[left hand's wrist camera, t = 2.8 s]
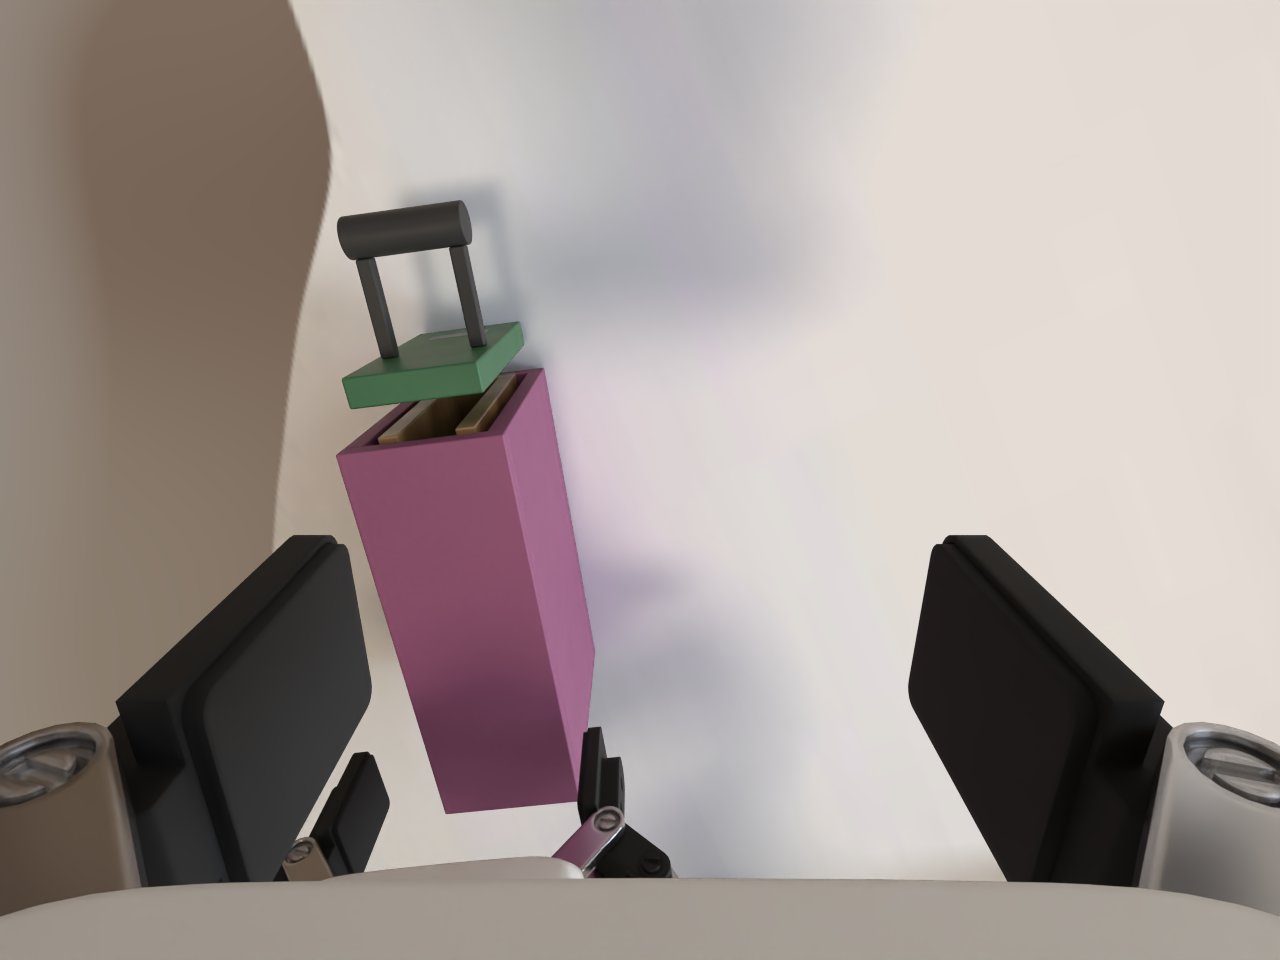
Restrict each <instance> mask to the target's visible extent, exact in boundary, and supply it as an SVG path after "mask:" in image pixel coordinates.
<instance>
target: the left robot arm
mask: <svg viewBox="0 0 1280 960" xmlns="http://www.w3.org/2000/svg"><path fill="white" fill-rule="evenodd" d="M371 692H372V684H371V677H370V671H369V665H368V660H367V654H366V648H365V642H364V637H363V631H362V625H361V620H360V614H359V608H358V603H357V597H356V591H355V585H354V580H353V574H352V568H351V563H350V557H349V552H348V549H347V547H346V546H345V545H344V544H337V541H336V540H335V538H334V537H333V536H331V535H293V536H292V537H290V538H289V539H288V540H287V541H286V542H285V543H283V544H282V545H281V546H280V547H279V548H278V549H277V550H276V551H275V552H274V553H273V554H272V555H271V556H270V557H269V558H268V559H266V560H265V561H264V562H263V563H262V564H261V565H260V566H259V567H258V568H257V569H256V570H255V571H254V572H253V573H252V574H251V575H249V576H248V577H247V578H246V579H245V580H244V581H243V582H242V583H241V584H240V585H239V586H238V587H237V588H236V589H235V590H233V591H232V592H231V593H230V594H229V595H228V596H227V597H226V598H225V599H224V600H223V601H222V602H221V603H220V604H219V605H218V606H217V607H215V608H214V609H213V610H212V611H211V612H210V613H209V614H208V615H207V616H206V617H205V618H204V619H203V620H202V621H201V622H200V623H198V624H197V625H196V626H195V627H194V628H193V629H192V630H191V631H190V632H189V633H188V634H187V635H186V636H185V637H184V638H182V639H181V640H180V641H179V642H178V643H177V644H176V645H175V646H174V647H173V648H172V649H171V650H170V651H169V652H168V653H167V654H165V655H164V656H163V657H162V658H161V659H160V660H159V661H158V662H157V663H156V664H155V665H154V666H153V667H152V668H151V669H150V670H148V671H147V672H146V673H145V674H144V675H143V676H142V677H141V678H140V679H139V680H138V681H137V682H136V683H135V684H134V685H132V686H131V687H130V688H129V689H128V690H127V691H126V692H125V693H124V694H123V695H122V696H121V697H120V698H119V699H118V700H117V701H116V705H117V707H118V710H119V713H120V716H119V717H118V718H117V719H116V720H115V721H114V722H113V723H111V724H110V725H109V726H108V727H107V728H106V727H103V726H101V725H99V724H96V723H85V722H74V723H68V724H60V725H54V726H51V727H47V728H44V729H40V730H37V731H34V732H30V733H28V734H26V735H23V736H21V737H19V738H16V739H14V740H11V741H9V742H7V743H5V744H3V745H1V746H0V960H1280V746H1279V745H1277V744H1275V743H1273V742H1271V741H1269V740H1266V739H1264V738H1261V737H1259V736H1257V735H1254V734H1252V733H1250V732H1247V731H1243V730H1240V729H1236V728H1233V727H1229V726H1226V725H1220V724H1213V723H1206V722H1195V723H1184V724H1181V725H1179V726H1177V727H1174V728H1173V727H1172V726H1171V725H1170V724H1169V723H1167V722H1166V721H1165V720H1164V719H1163V718H1162V717H1161V716H1160V713H1161V710H1162V707H1163V705H1164V702H1165V701H1163V700H1162V699H1161V698H1160V697H1159V696H1158V695H1157V694H1156V693H1155V692H1154V691H1153V690H1152V689H1151V688H1150V687H1149V686H1148V685H1146V684H1145V683H1144V682H1143V681H1142V680H1141V679H1140V678H1139V677H1138V676H1137V675H1136V674H1135V673H1134V672H1133V671H1132V670H1131V669H1129V668H1128V667H1127V666H1126V665H1125V664H1124V663H1123V662H1122V661H1121V660H1120V659H1119V658H1118V657H1117V656H1116V655H1115V654H1114V653H1112V652H1111V651H1110V650H1109V649H1108V648H1107V647H1106V646H1105V645H1104V644H1103V643H1102V642H1101V641H1100V640H1099V639H1098V638H1096V637H1095V636H1094V635H1093V634H1092V633H1091V632H1090V631H1089V630H1088V629H1087V628H1086V627H1085V626H1084V625H1083V624H1082V623H1081V622H1079V621H1078V620H1077V619H1076V618H1075V617H1074V616H1073V615H1072V614H1071V613H1070V612H1069V611H1068V610H1067V609H1066V608H1065V607H1064V606H1062V605H1061V604H1060V603H1059V602H1058V601H1057V600H1056V599H1055V598H1054V597H1053V596H1052V595H1051V594H1050V593H1049V592H1048V591H1047V590H1045V589H1044V588H1043V587H1042V586H1041V585H1040V584H1039V583H1038V582H1037V581H1036V580H1035V579H1034V578H1033V577H1032V576H1031V575H1030V574H1028V573H1027V572H1026V571H1025V570H1024V569H1023V568H1022V567H1021V566H1020V565H1019V564H1018V563H1017V562H1016V561H1015V560H1014V559H1012V558H1011V557H1010V556H1009V555H1008V554H1007V553H1006V552H1005V551H1004V550H1003V549H1002V548H1001V547H1000V546H999V545H998V544H997V543H995V542H994V541H993V540H992V539H991V538H990V537H988V536H987V535H949V536H947V537H946V538H945V540H944V541H943V544H936V545H935V546H934V547H933V549H932V552H931V557H930V563H929V568H928V574H927V580H926V585H925V591H924V597H923V603H922V608H921V614H920V620H919V625H918V631H917V637H916V642H915V648H914V654H913V660H912V665H911V671H910V677H909V684H908V692H909V699H910V702H911V705H912V707H913V709H914V711H915V713H916V715H917V717H918V718H919V720H920V722H921V724H922V726H923V728H924V729H925V731H926V733H927V735H928V737H929V739H930V740H931V742H932V744H933V746H934V748H935V750H936V751H937V753H938V755H939V757H940V759H941V761H942V762H943V764H944V766H945V768H946V770H947V772H948V773H949V775H950V777H951V779H952V781H953V783H954V784H955V786H956V788H957V790H958V792H959V794H960V795H961V797H962V799H963V801H964V803H965V805H966V806H967V808H968V810H969V812H970V814H971V816H972V817H973V819H974V821H975V823H976V825H977V827H978V828H979V830H980V832H981V834H982V836H983V838H984V839H985V841H986V843H987V845H988V847H989V849H990V850H991V852H992V854H993V856H994V858H995V860H996V861H997V863H998V865H999V867H1000V869H1001V871H1002V872H1003V874H1004V876H1005V878H1006V880H1007V882H987V881H938V880H888V879H711V878H569V879H392V880H342V881H293V882H273V880H274V878H275V876H276V874H277V872H278V871H279V869H280V867H281V865H282V863H283V861H284V860H285V858H286V856H287V854H288V852H289V850H290V849H291V847H292V845H293V843H294V841H295V839H296V838H297V836H298V834H299V832H300V830H301V828H302V827H303V825H304V823H305V821H306V819H307V817H308V816H309V814H310V812H311V810H312V808H313V806H314V805H315V803H316V801H317V799H318V797H319V795H320V794H321V792H322V790H323V788H324V786H325V784H326V783H327V781H328V779H329V777H330V775H331V773H332V772H333V770H334V768H335V766H336V764H337V762H338V761H339V759H340V757H341V755H342V753H343V751H344V750H345V748H346V746H347V744H348V742H349V740H350V739H351V737H352V735H353V733H354V731H355V729H356V728H357V726H358V724H359V722H360V720H361V718H362V717H363V715H364V713H365V711H366V709H367V707H368V705H369V702H370V699H371Z"/></svg>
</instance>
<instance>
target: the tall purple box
mask: <svg viewBox="0 0 1280 960" xmlns="http://www.w3.org/2000/svg"><path fill="white" fill-rule="evenodd" d="M511 373H515V374H516V377H517V382H518V388H517V390H516V391H515V393H514V394H513V396H512V397H511V398H510V400H509V401H508V403H507V404H506V406H505V407H504V409H503V410H502V411H501V413H500V414H499V416H498V417H497V419H496V420H495V422H494V423H493V425H492V426H491V427H490V429H489V430H488V431H486V432H478V433H470V434H462V435H454V436H446V437H438V438H430V439H422V440H413V441H405V442H397V443H389V444H381V445H379V441H378V438H379V437H380V436H381V435H382V434H383V433H385V432H386V431H387V430H388V429H389V428H390V427H392V426H393V425H394V424H395V423H396V422H397V421H398V420H400V419H401V418H402V417H403V416H404V415H405V414H406V413H408V412H409V411H410V410H411V409H412V408H413V407H415V406H416V405H417V404H418V403H419V402H420V401H414V402H406V403H401V404H399V405H398V406H397V407H396V408H394V409H393V410H392V411H391V412H389V413H388V414H387V415H386V416H384V417H383V418H382V419H381V420H379V421H378V422H377V423H376V424H375V425H373V426H372V427H371V428H370V429H368V430H367V431H366V432H365V433H363V434H362V435H361V436H360V437H358V438H357V439H356V440H355V441H353V442H352V443H351V444H350V445H348V446H347V447H346V448H345V449H343V450H342V451H341V452H340V453H338V454H337V455H336V457H337V461H338V464H339V467H340V471H341V474H342V477H343V480H344V484H345V487H346V490H347V493H348V497H349V500H350V503H351V506H352V510H353V513H354V516H355V520H356V523H357V526H358V529H359V533H360V536H361V539H362V542H363V546H364V549H365V552H366V555H367V559H368V562H369V565H370V568H371V572H372V575H373V578H374V582H375V585H376V588H377V591H378V595H379V598H380V601H381V604H382V608H383V611H384V614H385V617H386V621H387V624H388V627H389V631H390V634H391V637H392V640H393V644H394V647H395V650H396V653H397V657H398V660H399V663H400V666H401V670H402V673H403V676H404V679H405V683H406V686H407V689H408V693H409V696H410V699H411V702H412V706H413V709H414V712H415V715H416V719H417V722H418V725H419V728H420V732H421V735H422V738H423V742H424V745H425V748H426V751H427V755H428V758H429V761H430V764H431V768H432V771H433V774H434V777H435V781H436V784H437V787H438V790H439V794H440V797H441V800H442V804H443V807H444V810H445V813H446V814H453V813H464V812H474V811H484V810H494V809H505V808H515V807H525V806H536V805H546V804H556V803H566V802H577V796H578V785H579V774H580V763H581V752H582V741H583V732H587V727H588V717H589V707H590V697H591V687H592V677H593V667H594V657H595V649H594V644H593V638H592V633H591V627H590V622H589V616H588V610H587V605H586V599H585V594H584V588H583V583H582V577H581V572H580V566H579V561H578V555H577V549H576V544H575V538H574V533H573V527H572V522H571V516H570V511H569V505H568V500H567V494H566V488H565V483H564V477H563V472H562V466H561V461H560V455H559V450H558V444H557V439H556V433H555V427H554V422H553V416H552V411H551V405H550V400H549V394H548V389H547V383H546V378H545V372H544V368H540V369H532V370H524V371H516V372H509V373H501V374H499V375H504V374H511Z"/></svg>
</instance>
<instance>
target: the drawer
mask: <svg viewBox="0 0 1280 960" xmlns="http://www.w3.org/2000/svg"><path fill="white" fill-rule="evenodd" d="M337 232H338V238H339V241H340V244H341V247H342V249H343V251H344V253H345V254H346V256H347V257H348V258H349V259H351V260H356V264H357V268H358V272H359V276H360V279H361V283H362V287H363V291H364V294H365V298H366V302H367V306H368V310H369V313H370V317H371V321H372V325H373V328H374V332H375V336H376V340H377V343H378V347H379V351H380V355H381V357H380V358H378V359H376V360H374V361H372V362H371V363H369V364H367V365H365V366H364V367H362V368H360V369H358V370H356V371H355V372H353V373H351V374H349V375H348V376H346V377H344V378H342V382H343V386H344V389H345V393H346V396H347V399H348V403H349V406H350V409H358V408H366V407H374V406H382V405H390V404H398V403H406V402H414V401H420V402H419V403H418V404H417V405H416V406H415V407H413V408H412V409H411V410H410V411H409V412H408V413H406V414H405V415H404V416H403V417H402V418H401V419H400V420H398V421H397V422H396V423H395V424H394V425H393V426H392V427H390V428H389V429H388V430H387V431H386V432H385V433H383V434H382V435H381V436H380V437H379V438H378V441H379V445H381V444H389V443H397V442H405V441H413V440H422V439H430V438H438V437H446V436H454V435H462V434H470V433H478V432H486V431H488V430H489V429H490V427H491V426H492V425H493V423H494V422H495V420H496V419H497V417H498V416H499V414H500V413H501V411H502V410H503V409H504V407H505V406H506V404H507V403H508V401H509V400H510V398H511V397H512V396H513V394H514V393H515V391H516V390H517V388H518V382H517V377H516V374H515V373H511V374H504V375H499V374H500V372H501V371H502V370H503V369H504V368H505V367H506V365H507V364H508V363H509V362H510V361H511V360H512V358H513V357H514V356H515V355H516V354H517V353H518V352H519V350H520V349H521V348H522V347H523V346H524V340H523V335H522V329H521V324H520V322H511V323H504V324H496V325H488V326H484V325H483V320H482V315H481V310H480V306H479V301H478V296H477V291H476V286H475V282H474V277H473V272H472V267H471V262H470V257H469V253H468V248H467V245H469V244H471V242H472V228H471V222H470V218H469V214H468V211H467V208H466V206H465V204H464V203H463V201H461V200H458V201H451V202H444V203H437V204H430V205H422V206H415V207H408V208H401V209H394V210H387V211H379V212H372V213H365V214H358V215H351V216H343V217H340V218H339V219H338V222H337ZM447 247H450V248H449V251H450V255H451V260H452V265H453V269H454V274H455V278H456V283H457V288H458V292H459V297H460V301H461V306H462V311H463V315H464V320H465V324H466V328H465V329H458V330H450V331H442V332H435V333H427V334H420V335H419V336H417V337H415V338H413V339H411V340H410V341H408V342H406V343H404V344H403V345H401V346H399V347H397V343H396V339H395V335H394V331H393V327H392V323H391V319H390V316H389V312H388V308H387V304H386V300H385V296H384V292H383V288H382V284H381V280H380V276H379V273H378V269H377V265H376V261H375V258H373V257H381V256H388V255H395V254H403V253H410V252H417V251H425V250H432V249H440V248H447Z"/></svg>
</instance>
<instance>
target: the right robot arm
mask: <svg viewBox="0 0 1280 960" xmlns="http://www.w3.org/2000/svg"><path fill="white" fill-rule="evenodd" d="M624 802H625V785H624V773H623V767H622V761H621V757H613V758H607V755H606V750H605V745H604V740H603V734H602V729H601V727H593V728H588V732H583V741H582V752H581V763H580V774H579V785H578V796H577V805H578V811H579V816H580V820H581V825H582V826H581V827H580V828H579V829H578V830H577V831H576V832H575V833H574V834H573V835H572V836H571V837H570V838H569V839H568V840H567V841H566V842H565V843H564V844H563V845H562V847H561V848H560V849H559V850H558V851H557V852H556V853H555V854H554V855H553V856H552V857H540V856H536V857H515V858H503V859H490V860H479V861H468V862H458V863H447V864H437V865H427V866H417V867H408V868H398V869H389V870H380V871H372V872H364V870H365V868H366V865H367V863H368V860H369V857H370V855H371V852H372V850H373V847H374V845H375V842H376V840H377V837H378V835H379V832H380V830H381V827H382V825H383V822H384V820H385V817H386V814H387V812H388V809H389V805H390V801H389V797H388V794H387V792H386V789H385V786H384V783H383V781H382V778H381V775H380V772H379V770H378V767H377V764H376V761H375V758H374V756H373V755H370V753H369V752H360V753H354V754H353V755H352V757H351V759H350V761H349V763H348V765H347V767H346V769H345V771H344V773H343V775H342V777H341V779H340V781H339V783H338V785H337V787H335V788H334V789H333V790H332V792H331V794H330V796H329V798H328V800H327V802H326V804H325V806H324V808H323V810H322V812H321V814H320V816H319V818H318V820H317V822H316V824H315V826H314V828H313V830H312V832H311V834H310V836H309V837H304V838H300V839H298V840H296V841H294V843H293V845H292V847H291V849H290V850H289V852H288V854H287V856H286V858H285V860H284V861H283V863H282V865H281V867H280V869H279V871H278V872H277V874H276V876H275V878H274V880H273V882H293V881H342V880H392V879H569V878H678V877H677V875H676V874H675V872H674V871H673V869H672V868H671V864H670V860H669V858H668V856H667V855H666V854H665V853H664V852H662V851H661V850H660V849H659V848H657V847H656V846H655V845H653V844H652V843H651V842H649V841H648V840H647V839H645V838H644V837H643V836H641V835H640V834H639V833H638V832H636V831H635V830H634V829H632V828H631V827H630V826H628V825H627V824H626V823H625V821H624Z"/></svg>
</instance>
